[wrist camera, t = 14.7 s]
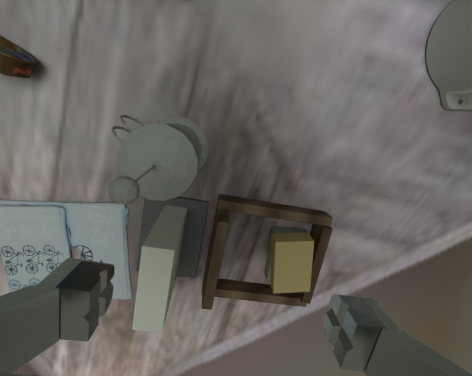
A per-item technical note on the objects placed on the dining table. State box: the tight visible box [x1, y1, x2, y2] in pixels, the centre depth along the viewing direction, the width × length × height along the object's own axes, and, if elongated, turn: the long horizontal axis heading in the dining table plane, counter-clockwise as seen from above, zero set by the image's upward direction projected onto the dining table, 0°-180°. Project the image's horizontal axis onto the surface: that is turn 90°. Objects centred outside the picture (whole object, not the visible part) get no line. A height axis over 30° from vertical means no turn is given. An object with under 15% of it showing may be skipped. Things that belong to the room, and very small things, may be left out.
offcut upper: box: [270, 233, 314, 293], centre depth 42 cm, size 6×9×3 cm, turn 0°
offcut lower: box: [264, 227, 311, 281], centre depth 45 cm, size 6×9×3 cm, turn 173°
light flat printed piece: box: [0, 199, 133, 299], centre depth 43 cm, size 19×20×2 cm
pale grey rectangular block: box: [132, 205, 187, 332], centre depth 36 cm, size 4×11×14 cm, turn 169°
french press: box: [109, 115, 208, 205], centre depth 28 cm, size 10×12×25 cm
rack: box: [202, 194, 333, 310], centre depth 42 cm, size 18×17×8 cm
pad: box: [136, 197, 208, 278], centre depth 43 cm, size 10×14×1 cm
